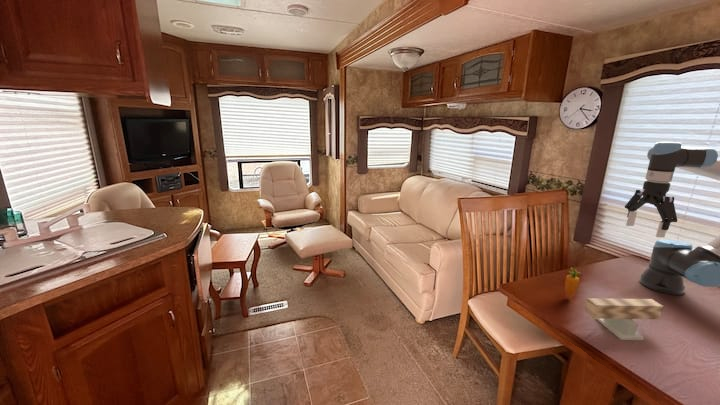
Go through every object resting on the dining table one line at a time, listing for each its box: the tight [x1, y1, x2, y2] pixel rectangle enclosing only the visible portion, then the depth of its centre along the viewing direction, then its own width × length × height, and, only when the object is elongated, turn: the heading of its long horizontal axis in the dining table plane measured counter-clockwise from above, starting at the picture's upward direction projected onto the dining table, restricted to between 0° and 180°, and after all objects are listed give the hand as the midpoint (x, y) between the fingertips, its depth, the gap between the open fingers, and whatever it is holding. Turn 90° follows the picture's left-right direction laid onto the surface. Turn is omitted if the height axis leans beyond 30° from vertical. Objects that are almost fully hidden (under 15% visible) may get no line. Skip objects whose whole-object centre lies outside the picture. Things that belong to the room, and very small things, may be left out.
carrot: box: [564, 267, 581, 300], centre depth 127 cm, size 5×5×15 cm
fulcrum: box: [595, 318, 645, 341], centre depth 109 cm, size 8×12×6 cm, turn 179°
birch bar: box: [583, 297, 664, 320], centre depth 108 cm, size 24×4×6 cm, turn 89°
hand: (644, 231), depth 122 cm, fingers open, 13 cm apart
